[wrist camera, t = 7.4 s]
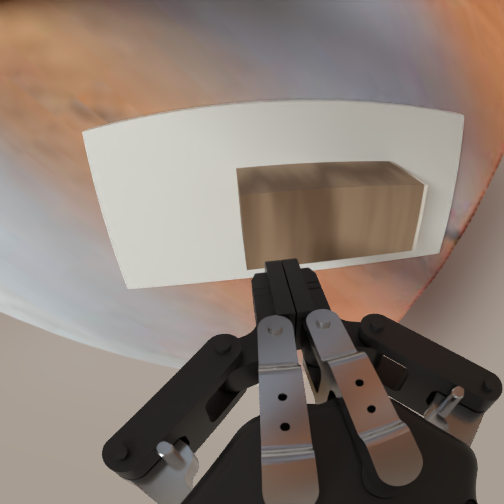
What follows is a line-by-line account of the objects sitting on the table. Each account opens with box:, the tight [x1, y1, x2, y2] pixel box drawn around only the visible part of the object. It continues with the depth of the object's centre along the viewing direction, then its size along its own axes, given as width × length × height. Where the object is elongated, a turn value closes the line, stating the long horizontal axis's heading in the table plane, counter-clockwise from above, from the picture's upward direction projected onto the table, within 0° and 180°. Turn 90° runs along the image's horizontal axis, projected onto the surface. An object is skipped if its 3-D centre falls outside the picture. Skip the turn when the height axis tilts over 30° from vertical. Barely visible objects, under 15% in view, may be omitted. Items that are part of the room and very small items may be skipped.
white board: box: [82, 99, 464, 289], centre depth 23 cm, size 30×14×2 cm, turn 94°
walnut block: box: [236, 161, 428, 270], centre depth 20 cm, size 5×5×12 cm
